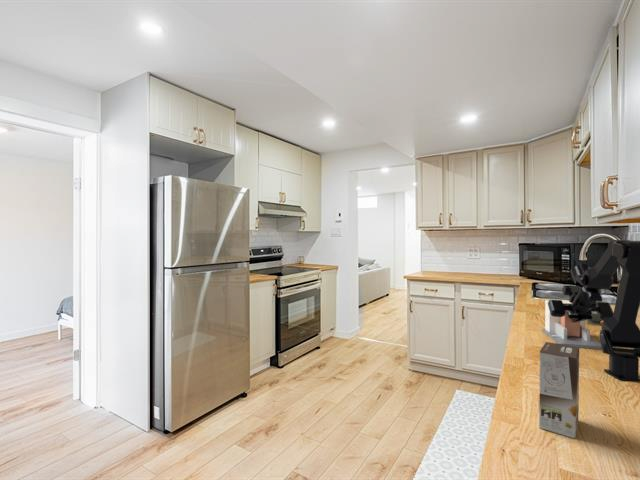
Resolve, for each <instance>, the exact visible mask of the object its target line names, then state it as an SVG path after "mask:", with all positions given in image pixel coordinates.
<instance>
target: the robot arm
mask: <svg viewBox="0 0 640 480" xmlns="http://www.w3.org/2000/svg"><path fill="white" fill-rule="evenodd" d="M619 267H621V270H622V271H621V275H620V280H619V285H618V290H617V296H616V300H615V304H614V310H613V309H612V306H611V304H610V303H609V302H608V301H603V296H602V290H603V291H604V290H610V288H611V287H612V286H613V284H614V278H613V275H614V274H615V273H616V272H617V270H618V268H619ZM570 273H571V276H572V278H573V281H574V284H575V285H571V284H570V285H563V287H562V288H561V289H562V290H561V292H562V294H563V295H564V296H568V297H569V299H568V301H569V302H571V303H572V304H563V302H562V301H563V300H562V299H548V300H549V302H548V306H549V310H550V313H551V315H552V316H553V317H563V316H565V310H566V311H567V315H568V317H569V318H571V321H572V323H575V322H579V321H584V320H585V321H587V320H589V319H590V320H591V319H592V314H599V312H600V315H601V316H600V318H601V319H603V321H602V324H603V325H601V330H600V331H599V340H600V341H599V342H600V343H601V347H602V349H601V351H602V353H603V354H606V355H608V356H609V357H608V359H609V360H608V361H609V362H608V369H607V368H605V369H604V368H603V371H604V373H606V374H608V375H610V376H612V377H614V378H615V379H617V380H619V381H636V382H637V381H638V382H640V375H639V372H640V371H639V369H640V367H639V364H640V361H639V360H640V359H639V358H640V328H639V326H638V325H637V323H636V322H637V318H638V313H639V309H640V240H630V239H613V240H609V241H608V243H607V248H606V250H605V251H604V252H603V253H602V255H601V257H599V260H598V261H597V262H596V263H595V265H594V266H592V267H590V266H589V265H588V263H584V262H583V263H579V264H578V265H575V266H574V267H572V268H570ZM596 301H602V302H596ZM596 306H597V307H596Z"/></svg>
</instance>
